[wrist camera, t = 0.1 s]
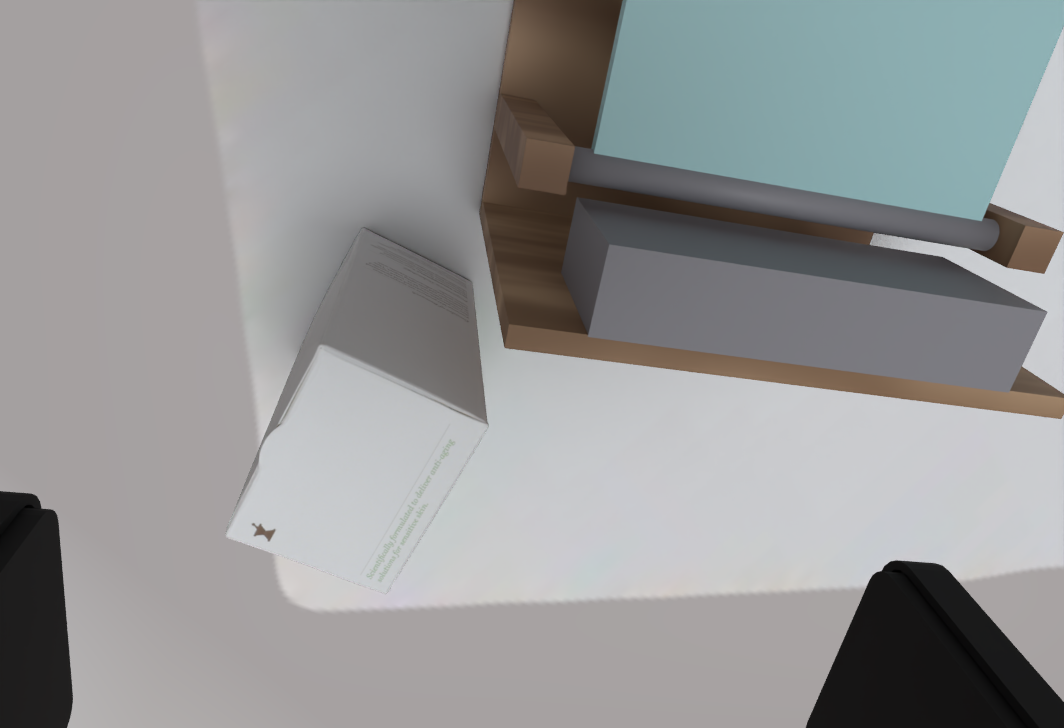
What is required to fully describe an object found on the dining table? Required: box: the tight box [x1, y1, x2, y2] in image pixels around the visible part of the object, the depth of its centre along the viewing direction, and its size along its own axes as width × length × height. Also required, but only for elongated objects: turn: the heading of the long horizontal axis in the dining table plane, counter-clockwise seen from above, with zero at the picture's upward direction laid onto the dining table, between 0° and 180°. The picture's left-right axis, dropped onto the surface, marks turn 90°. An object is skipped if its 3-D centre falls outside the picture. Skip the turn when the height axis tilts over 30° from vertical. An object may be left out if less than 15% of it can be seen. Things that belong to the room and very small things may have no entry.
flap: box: [561, 0, 1064, 393], centre depth 25 cm, size 18×16×6 cm
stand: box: [479, 0, 1064, 419], centre depth 30 cm, size 18×20×16 cm
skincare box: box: [226, 228, 489, 594], centre depth 34 cm, size 8×7×16 cm
